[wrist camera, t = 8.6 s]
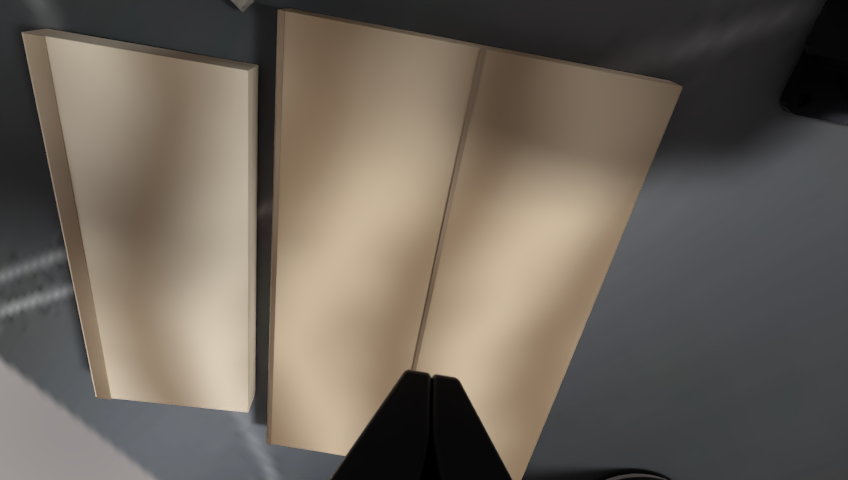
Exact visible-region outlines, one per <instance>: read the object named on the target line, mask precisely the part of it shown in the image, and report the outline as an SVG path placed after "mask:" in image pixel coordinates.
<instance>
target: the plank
mask: <svg viewBox="0 0 848 480" xmlns="http://www.w3.org/2000/svg"><path fill="white" fill-rule="evenodd" d="M22 37H23V42H24V47H25V52H26V57H27V62H28V67H29V72H30V76H31V81H32V86H33V91H34V96H35V101H36V106H37V111H38V116H39V121H40V125H41V130H42V135H43V140H44V145H45V150H46V155H47V160H48V165H49V170H50V174H51V179H52V184H53V189H54V194H55V199H56V204H57V209H58V214H59V219H60V224H61V228H62V233H63V238H64V243H65V248H66V253H67V258H68V263H69V268H70V273H71V277H72V282H73V287H74V292H75V297H76V302H77V307H78V312H79V317H80V322H81V326H82V331H83V336H84V341H85V346H86V351H87V356H88V361H89V366H90V371H91V375H92V380H93V385H94V390H95V395H96V397H97V398H103V399H111V398H114V399H124V400H133V401H143V402H152V403H162V404H171V405H181V406H190V407H200V408H209V409H219V410H228V411H238V412H247V413H248V412H249V409H250V406H251V404H252V401H253V399H254V396H255V372H256V264H257V157H258V65H256V64H251V63H245V62H239V61H233V60H227V59H221V58H216V57H210V56H204V55H198V54H192V53H186V52H181V51H175V50H169V49H163V48H157V47H152V46H146V45H140V44H134V43H128V42H122V41H117V40H111V39H105V38H99V37H93V36H87V35H82V34H76V33H70V32H64V31H58V30H52V29H40V30H33V31H26V32H22Z"/></svg>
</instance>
